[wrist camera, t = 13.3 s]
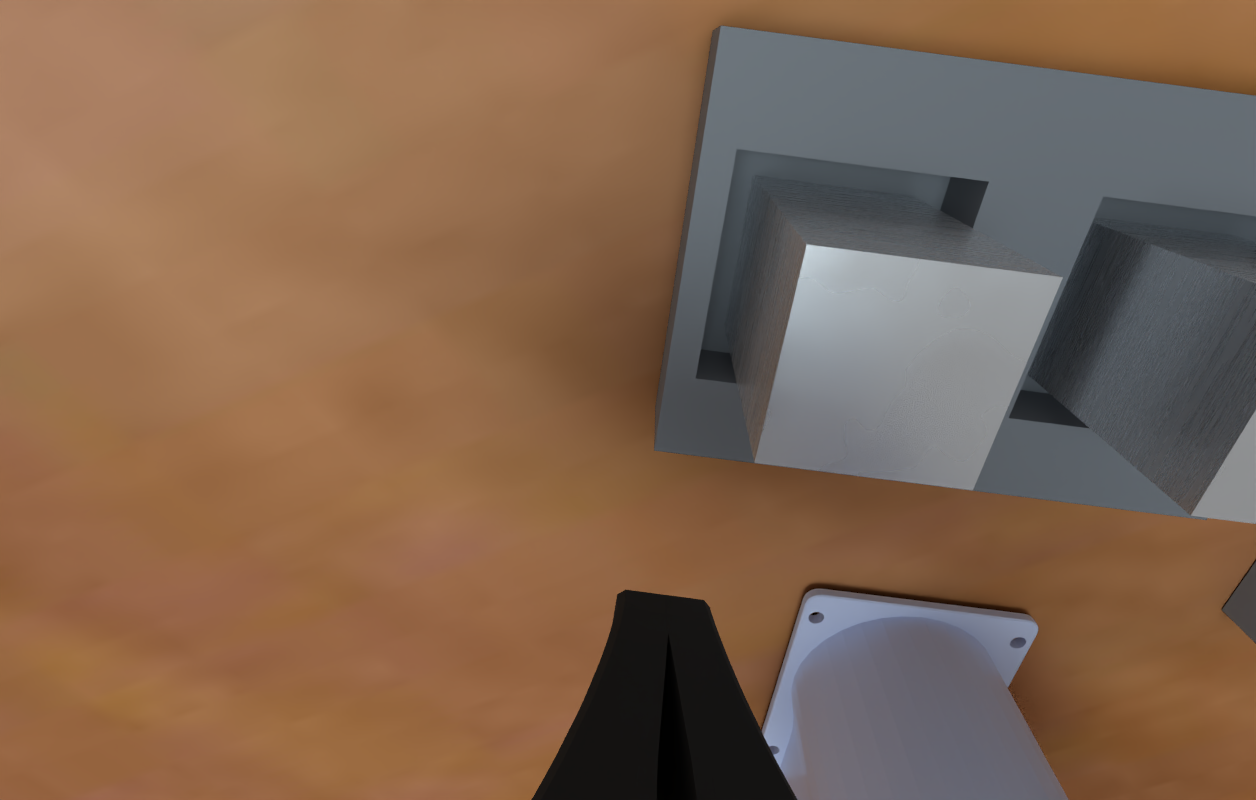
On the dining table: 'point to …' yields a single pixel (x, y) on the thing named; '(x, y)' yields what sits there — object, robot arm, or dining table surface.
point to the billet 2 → (1163, 358)
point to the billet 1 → (877, 333)
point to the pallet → (945, 208)
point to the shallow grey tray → (1244, 604)
